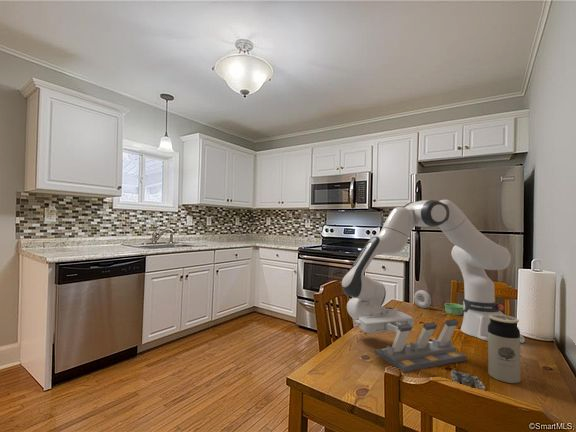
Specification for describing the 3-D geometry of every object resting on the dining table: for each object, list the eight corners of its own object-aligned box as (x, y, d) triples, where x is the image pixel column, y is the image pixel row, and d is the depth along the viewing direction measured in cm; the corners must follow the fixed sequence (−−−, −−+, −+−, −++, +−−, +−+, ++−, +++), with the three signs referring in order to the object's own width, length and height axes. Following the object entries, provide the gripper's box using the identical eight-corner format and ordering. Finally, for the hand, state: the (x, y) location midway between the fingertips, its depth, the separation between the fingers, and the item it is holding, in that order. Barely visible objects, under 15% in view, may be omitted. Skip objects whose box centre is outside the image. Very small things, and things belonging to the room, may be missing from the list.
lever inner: (435, 342, 108) (446, 320, 104) (444, 341, 110) (455, 318, 106) (438, 346, 107) (449, 323, 103) (447, 345, 108) (458, 322, 104)
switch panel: (375, 353, 107) (375, 339, 107) (433, 344, 116) (433, 331, 116) (403, 372, 93) (403, 355, 94) (466, 360, 103) (466, 345, 103)
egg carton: (487, 406, 76) (487, 390, 77) (454, 399, 80) (454, 383, 80) (480, 386, 86) (480, 371, 86) (450, 380, 89) (450, 366, 89)
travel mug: (489, 368, 97) (489, 312, 97) (520, 376, 92) (520, 317, 92) (486, 378, 91) (486, 317, 91) (520, 387, 85) (519, 323, 86)
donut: (432, 309, 166) (432, 291, 166) (428, 310, 164) (428, 292, 164) (416, 305, 174) (416, 288, 175) (412, 306, 172) (412, 288, 173)
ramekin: (466, 316, 154) (466, 307, 154) (447, 315, 156) (447, 306, 156) (460, 311, 163) (460, 303, 163) (442, 310, 165) (442, 302, 165)
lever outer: (389, 350, 101) (398, 324, 98) (399, 348, 103) (409, 323, 99) (392, 353, 100) (402, 328, 96) (402, 352, 102) (412, 327, 98)
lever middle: (413, 346, 105) (424, 323, 100) (422, 344, 106) (434, 322, 102) (416, 350, 104) (427, 326, 99) (425, 348, 105) (437, 325, 101)
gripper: (351, 311, 109) (375, 323, 96) (397, 307, 116) (425, 318, 103) (351, 329, 109) (374, 343, 96) (397, 323, 116) (425, 336, 103)
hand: (401, 330), depth 99 cm, fingers closed, pressing on lever outer
